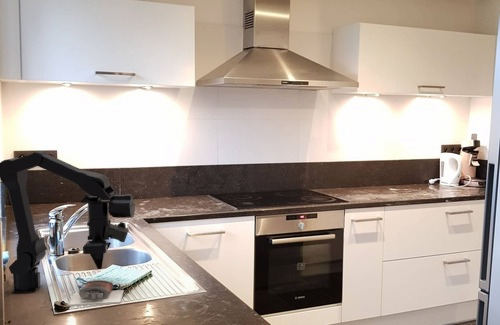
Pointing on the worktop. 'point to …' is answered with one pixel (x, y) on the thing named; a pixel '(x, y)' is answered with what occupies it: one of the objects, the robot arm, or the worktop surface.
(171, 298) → the worktop surface
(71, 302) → the mat
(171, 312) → the worktop surface
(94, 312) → the worktop surface
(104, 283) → the lighter
